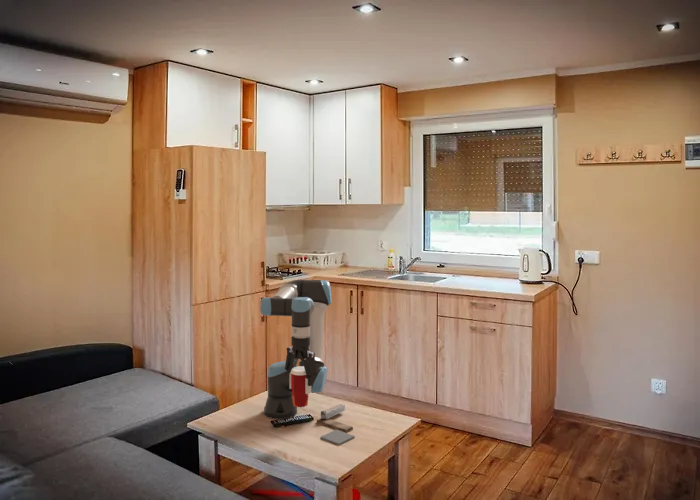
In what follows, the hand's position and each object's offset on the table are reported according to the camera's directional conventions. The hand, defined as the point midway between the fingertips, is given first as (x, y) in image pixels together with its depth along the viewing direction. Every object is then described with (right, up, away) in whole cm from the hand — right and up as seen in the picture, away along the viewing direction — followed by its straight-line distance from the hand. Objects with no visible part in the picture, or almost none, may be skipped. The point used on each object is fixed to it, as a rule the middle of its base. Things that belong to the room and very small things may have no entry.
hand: (300, 390), depth 235 cm
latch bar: (+12, -17, +25) cm, 33 cm away
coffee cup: (0, -6, +1) cm, 6 cm away
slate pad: (+15, -21, +3) cm, 26 cm away
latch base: (+14, -19, +16) cm, 29 cm away
